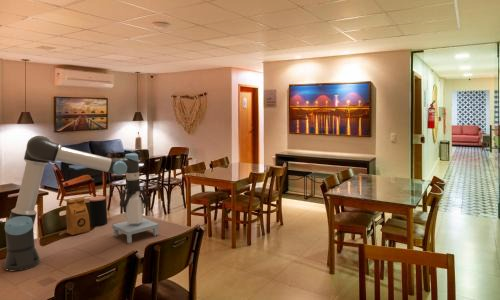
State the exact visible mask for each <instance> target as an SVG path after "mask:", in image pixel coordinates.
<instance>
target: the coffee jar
mask: <svg viewBox="0 0 500 300" xmlns="http://www.w3.org/2000/svg"><path fill="white" fill-rule="evenodd" d="M106 199H107V198H106V196H104V195H102V196H101V195H100V196H98V195H97V196H93V197H90V198H88V201H89V202H88V207H89V208H88V209H89V220H90V226H91V227H101V226H105V225H106V224H107V223H108V212H107V211H108V210H107V200H106Z"/></svg>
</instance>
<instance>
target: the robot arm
mask: <svg viewBox="0 0 500 300" xmlns="http://www.w3.org/2000/svg"><path fill="white" fill-rule="evenodd" d="M23 160H24V162H25V167H24V171H23V175H22V179H21V183H20V188H19V191H18V196H17V198H16V199H17V201H16V204H15V207H14V208H12V209H11V210H10V215H9V218H8V219H7V220H6V221H5V223H4V231H5V241H6V252H7V253H6V256H5V260H4V263H3V268H5V269H8V270H20V271H22V270H21V269H25V270H27V269H26V268H29V269H31V268H34V267H35V265H36V266H38V265H39V264H40V263H41V262H40V261H41V258H40V255H39V253H38V251H37V249H36V247H35V245H36V244H35V234H34V227H35V226H34V225H35V221H36V217H37V211H36V210H35V208H36V205H37V204H36V203H37V200H38V195H39V191H40V186H41V183H42V179H43V175H44V171H45V166H47V165H48V164H49V163H50V162H52V163H56V162H62V163H66V164H71V165H74V166H80V167H85V168H89V169H93V170H98V171H102V172H107V173H111V174H115V176H122V175H124V174H125V177H126V178H125V179H126V188H125V189H121V197H120V201H119V207H121V208H122V212H123V213H124V217H125V218H126V219H127V218H128V207H126V206H127V204H128V201H129V199H130V197H131V196H132V195H134V194H136V192H138V191H139V192H140V194H139V197H141V200H142V215H144V214H145V208H146V204H147V202H148V201H149V199H148V196H147V193H146V189H145V186H143V185H142V186H140V185H141V184H140V183H141V182H140V181H141V180H140V162H139V161H140V160H139V154H137V153H135V152H134V153H133V152H131V153H125V156H124V157H116V158H115V157H113V158H111V157H106V156H102V155H99V154H93V153H90V152H86V151H82V150H77V149H72V148H70V147H69V148H68V147H65V146H62V145H61V144H60V143H59V142H58V143H57V142H54V141H51V140H50V139H49V138H48V137H46V136H43V135H35V136H33V137H31V138H29V140H27V144H26V147H25V152H24V156H23ZM129 194H130V195H129ZM39 262H40V263H39ZM38 263H39V264H38ZM33 266H34V267H33ZM30 267H31V268H30ZM5 269H4V270H5Z"/></svg>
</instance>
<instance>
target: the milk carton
mask: <svg viewBox="0 0 500 300" xmlns="http://www.w3.org/2000/svg"><path fill="white" fill-rule="evenodd" d="M139 194H141V191H140V190H139V191H138V192H136V194H134V195H132V196H131V197H130V199H129V201H128V204H127V206H126V207H128V218H126V221H127V224H139V223H140V222H141V221H142V220H143V218H144V216H143V214H142V200H141V197H139ZM129 195H130V194H129Z"/></svg>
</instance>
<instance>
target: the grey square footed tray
mask: <svg viewBox="0 0 500 300" xmlns="http://www.w3.org/2000/svg"><path fill="white" fill-rule="evenodd" d="M159 227H160V225H159V223H157V222H154V221H151V220H149V219H147V218H145V217H143V220H142V221H141V222H140V223H139V224H127V220H126V221H122V222H118V223H114V224H112V226H111V228H112V229H113V237H119V233H122V234H124V235H126V243H127V244H131V243H133V239H132V236H133V235H134V234H138V233H143V232H146V231H150V230H152V235H153V236H154V237H156V235H157V236H159V229H158V228H159Z"/></svg>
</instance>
